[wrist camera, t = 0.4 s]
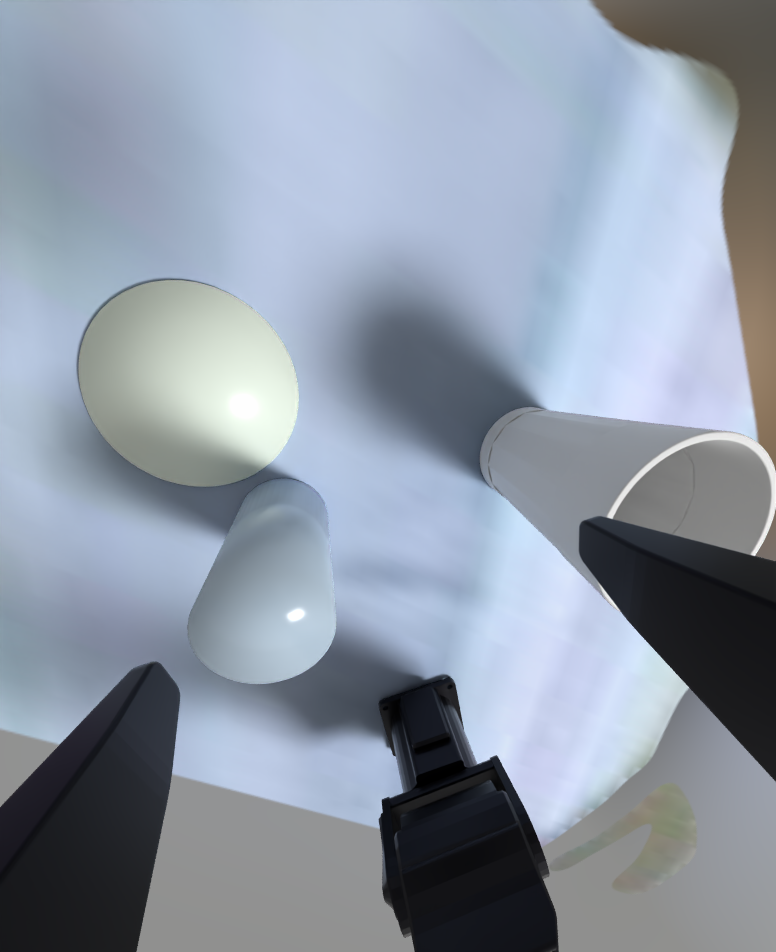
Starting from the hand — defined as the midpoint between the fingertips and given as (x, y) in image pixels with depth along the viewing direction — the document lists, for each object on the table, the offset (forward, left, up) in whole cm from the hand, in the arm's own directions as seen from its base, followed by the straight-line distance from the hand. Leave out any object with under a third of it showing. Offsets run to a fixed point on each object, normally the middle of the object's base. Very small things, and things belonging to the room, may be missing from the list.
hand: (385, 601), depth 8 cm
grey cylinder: (-4, +5, -16) cm, 17 cm away
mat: (+4, +7, -16) cm, 18 cm away
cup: (-4, -12, -16) cm, 21 cm away
